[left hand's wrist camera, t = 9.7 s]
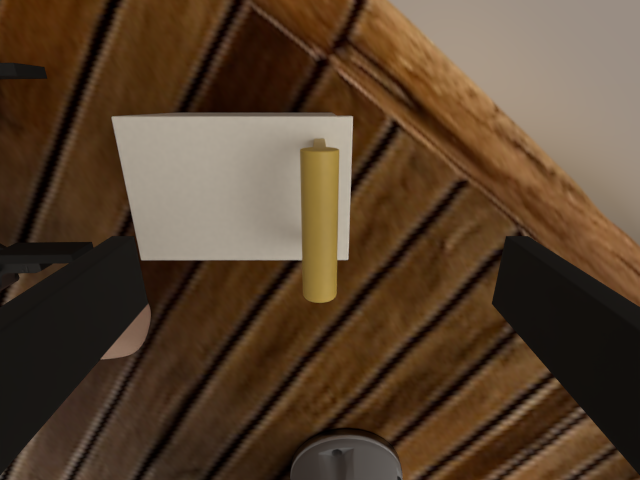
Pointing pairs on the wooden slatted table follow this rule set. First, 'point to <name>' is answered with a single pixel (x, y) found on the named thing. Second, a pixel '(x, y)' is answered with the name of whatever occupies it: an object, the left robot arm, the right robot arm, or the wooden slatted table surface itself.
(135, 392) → the wooden slatted table surface
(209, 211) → the lid
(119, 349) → the anatomical model
